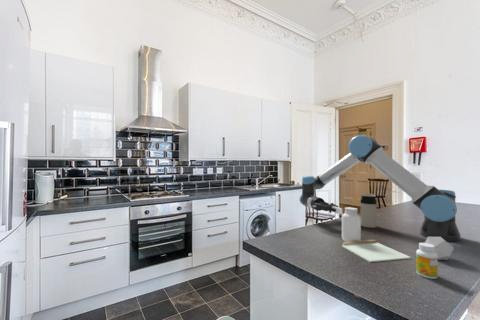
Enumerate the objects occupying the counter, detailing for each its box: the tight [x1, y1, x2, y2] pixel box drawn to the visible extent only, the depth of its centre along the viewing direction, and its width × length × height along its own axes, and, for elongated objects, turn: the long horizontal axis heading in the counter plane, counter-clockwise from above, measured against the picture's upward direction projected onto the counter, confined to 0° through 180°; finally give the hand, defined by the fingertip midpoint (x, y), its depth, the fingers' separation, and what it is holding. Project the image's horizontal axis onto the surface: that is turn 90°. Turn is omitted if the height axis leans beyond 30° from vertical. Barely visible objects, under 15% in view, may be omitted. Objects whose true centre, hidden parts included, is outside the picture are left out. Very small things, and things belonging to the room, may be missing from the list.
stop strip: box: [341, 239, 377, 246], centre depth 101 cm, size 1×16×2 cm, turn 102°
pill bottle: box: [341, 206, 362, 242], centre depth 106 cm, size 8×8×15 cm
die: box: [424, 237, 455, 261], centre depth 87 cm, size 8×9×10 cm
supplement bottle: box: [415, 242, 439, 280], centre depth 74 cm, size 5×5×10 cm
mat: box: [341, 242, 412, 263], centre depth 92 cm, size 16×18×1 cm
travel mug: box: [360, 193, 378, 229], centre depth 131 cm, size 8×8×18 cm
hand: (341, 211), depth 113 cm, fingers closed
